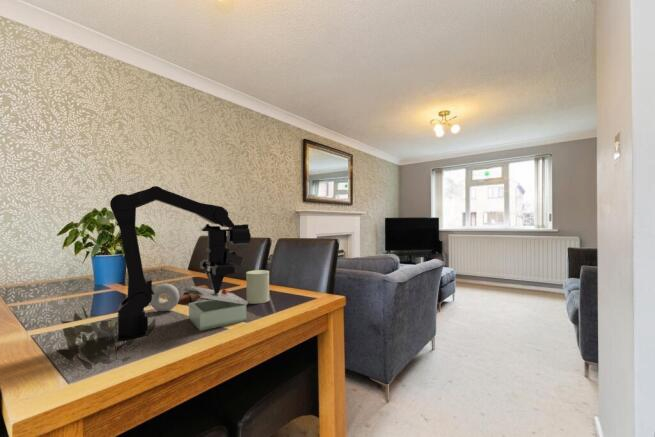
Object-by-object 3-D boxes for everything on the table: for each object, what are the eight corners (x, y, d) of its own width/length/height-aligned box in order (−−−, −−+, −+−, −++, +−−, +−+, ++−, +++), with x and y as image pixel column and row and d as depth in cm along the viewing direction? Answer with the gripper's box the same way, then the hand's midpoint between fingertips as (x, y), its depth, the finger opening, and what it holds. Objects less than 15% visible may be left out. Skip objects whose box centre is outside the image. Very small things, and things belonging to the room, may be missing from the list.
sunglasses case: (190, 292, 130) (197, 279, 131) (203, 300, 131) (211, 287, 131) (170, 304, 112) (178, 289, 113) (185, 313, 113) (194, 298, 113)
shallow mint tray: (200, 330, 84) (200, 313, 84) (188, 318, 95) (188, 303, 95) (246, 320, 93) (246, 304, 93) (231, 310, 104) (231, 296, 104)
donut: (147, 313, 101) (147, 284, 101) (151, 310, 104) (151, 282, 104) (177, 312, 102) (177, 283, 102) (181, 309, 106) (181, 281, 106)
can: (267, 303, 112) (267, 272, 112) (243, 304, 112) (243, 272, 112) (271, 297, 121) (271, 268, 121) (249, 297, 121) (249, 269, 121)
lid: (191, 296, 83) (194, 288, 83) (180, 287, 94) (183, 280, 95) (247, 304, 93) (249, 297, 93) (231, 296, 104) (233, 289, 105)
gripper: (252, 245, 92) (252, 295, 92) (231, 242, 107) (231, 285, 106) (216, 247, 85) (215, 300, 85) (199, 243, 100) (199, 289, 100)
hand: (216, 293), depth 94 cm, fingers closed, pressing on lid
